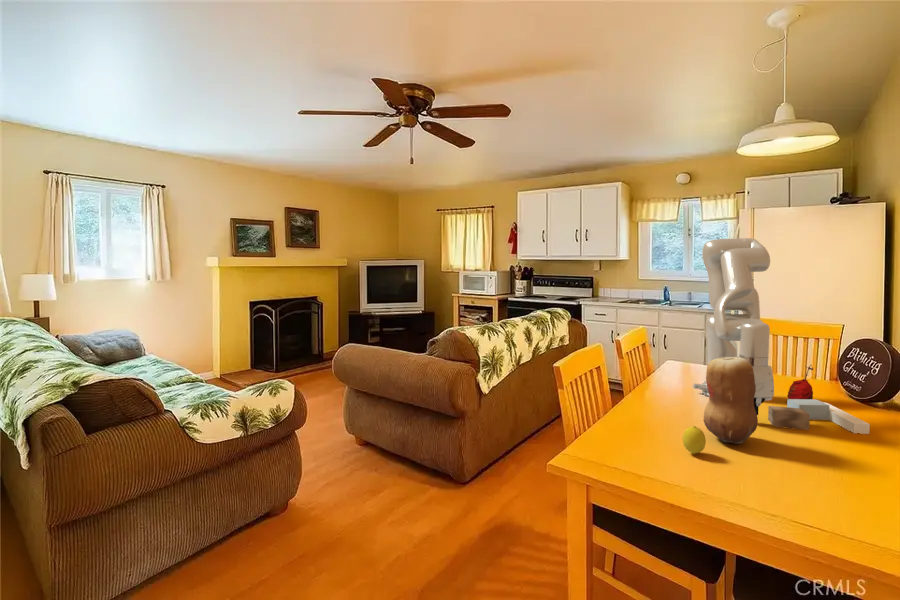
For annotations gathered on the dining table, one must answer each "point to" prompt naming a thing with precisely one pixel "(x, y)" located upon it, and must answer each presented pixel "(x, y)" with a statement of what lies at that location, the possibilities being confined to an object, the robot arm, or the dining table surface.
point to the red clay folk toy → (801, 389)
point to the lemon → (694, 439)
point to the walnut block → (788, 417)
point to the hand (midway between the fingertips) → (751, 416)
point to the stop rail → (847, 421)
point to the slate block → (811, 408)
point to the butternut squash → (730, 399)
